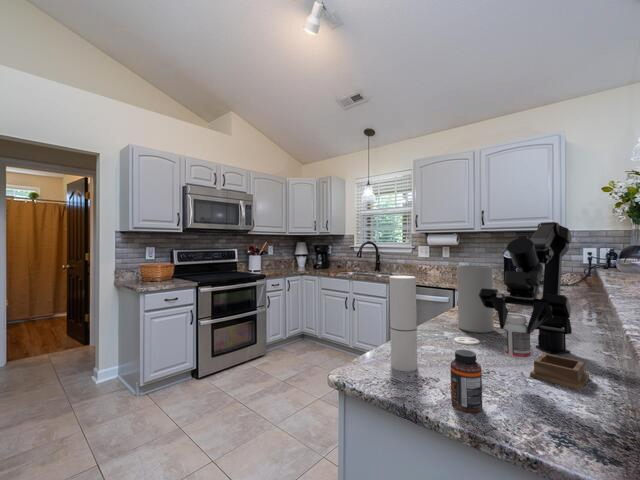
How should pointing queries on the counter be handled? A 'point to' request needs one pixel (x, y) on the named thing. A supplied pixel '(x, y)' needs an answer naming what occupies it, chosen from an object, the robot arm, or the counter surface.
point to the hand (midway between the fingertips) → (514, 330)
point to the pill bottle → (516, 338)
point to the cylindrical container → (403, 323)
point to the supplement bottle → (466, 382)
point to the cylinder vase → (474, 298)
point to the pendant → (466, 340)
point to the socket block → (560, 371)
